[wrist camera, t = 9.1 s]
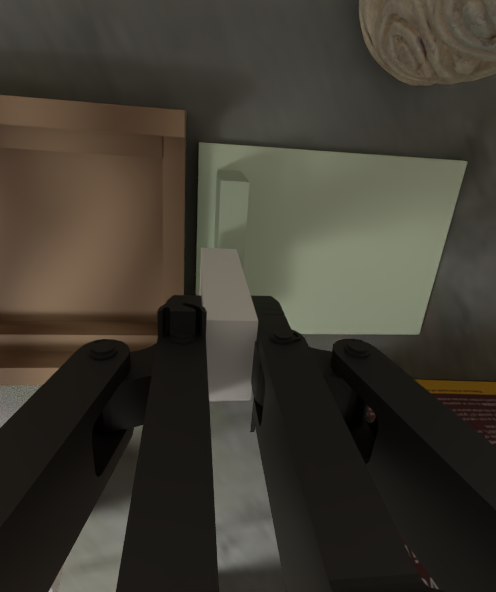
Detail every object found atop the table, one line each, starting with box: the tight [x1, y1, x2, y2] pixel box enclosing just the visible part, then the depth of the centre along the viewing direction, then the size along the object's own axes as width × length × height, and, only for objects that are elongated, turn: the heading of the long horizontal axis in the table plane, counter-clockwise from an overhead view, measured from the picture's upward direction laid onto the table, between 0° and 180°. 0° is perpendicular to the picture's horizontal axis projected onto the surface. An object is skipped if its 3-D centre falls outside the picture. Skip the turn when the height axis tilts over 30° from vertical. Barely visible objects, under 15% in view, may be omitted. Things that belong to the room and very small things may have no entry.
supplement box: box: [367, 379, 496, 589], centre depth 22 cm, size 10×15×16 cm
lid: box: [196, 142, 468, 335], centre depth 21 cm, size 14×10×4 cm
